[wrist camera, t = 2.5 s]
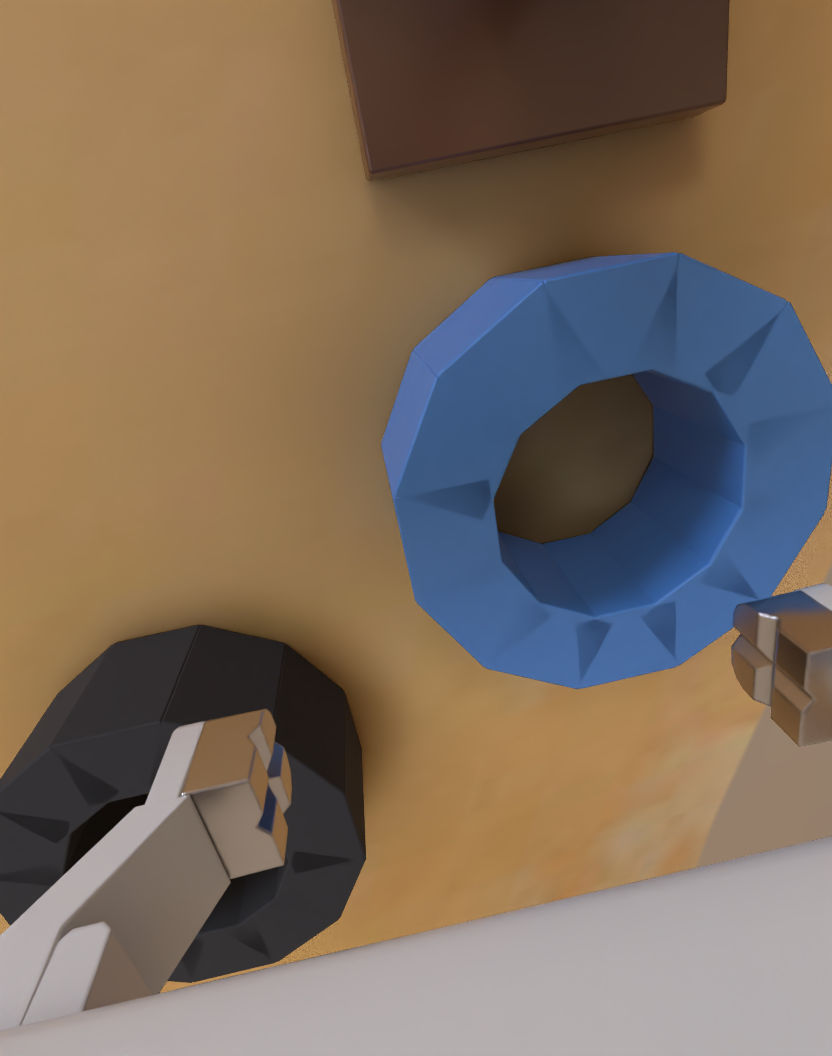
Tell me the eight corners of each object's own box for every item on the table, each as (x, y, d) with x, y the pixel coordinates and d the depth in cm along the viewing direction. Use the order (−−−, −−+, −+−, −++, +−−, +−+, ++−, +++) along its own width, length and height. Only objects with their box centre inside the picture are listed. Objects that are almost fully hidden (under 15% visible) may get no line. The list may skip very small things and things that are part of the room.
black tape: (-6, 669, 20) (-103, 780, 16) (316, 597, 20) (310, 688, 16) (122, 880, 25) (75, 1011, 20) (383, 819, 25) (391, 935, 21)
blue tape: (350, 306, 17) (354, 319, 12) (729, 228, 17) (863, 213, 13) (421, 629, 21) (441, 721, 17) (717, 562, 22) (812, 636, 17)
